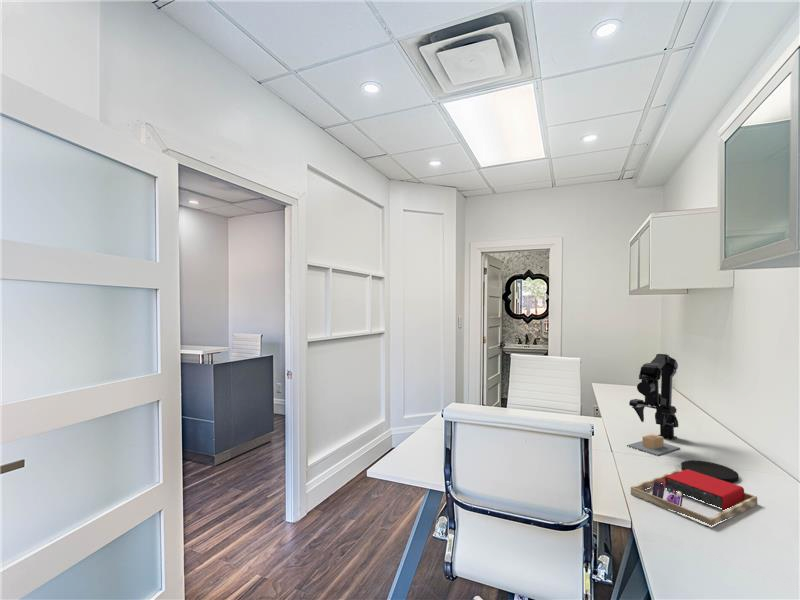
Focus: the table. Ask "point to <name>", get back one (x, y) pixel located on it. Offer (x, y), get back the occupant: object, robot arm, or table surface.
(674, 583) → the table surface
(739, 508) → the organizer frame
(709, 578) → the table surface
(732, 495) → the red device housing
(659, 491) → the game card
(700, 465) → the wireless charger
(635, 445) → the mat
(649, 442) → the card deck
